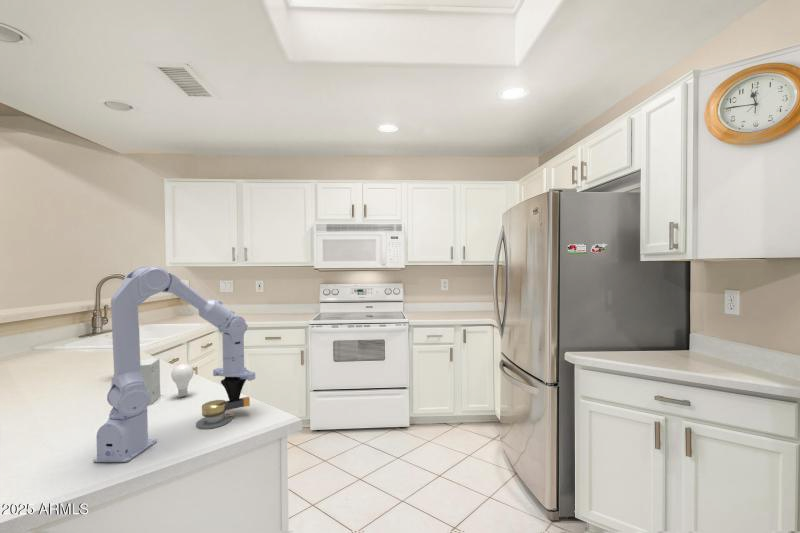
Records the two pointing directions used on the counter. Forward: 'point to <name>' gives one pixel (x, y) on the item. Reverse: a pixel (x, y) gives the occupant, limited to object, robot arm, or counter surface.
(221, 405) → the collar
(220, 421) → the post base
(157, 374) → the small box
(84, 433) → the counter surface
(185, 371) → the lightbulb
